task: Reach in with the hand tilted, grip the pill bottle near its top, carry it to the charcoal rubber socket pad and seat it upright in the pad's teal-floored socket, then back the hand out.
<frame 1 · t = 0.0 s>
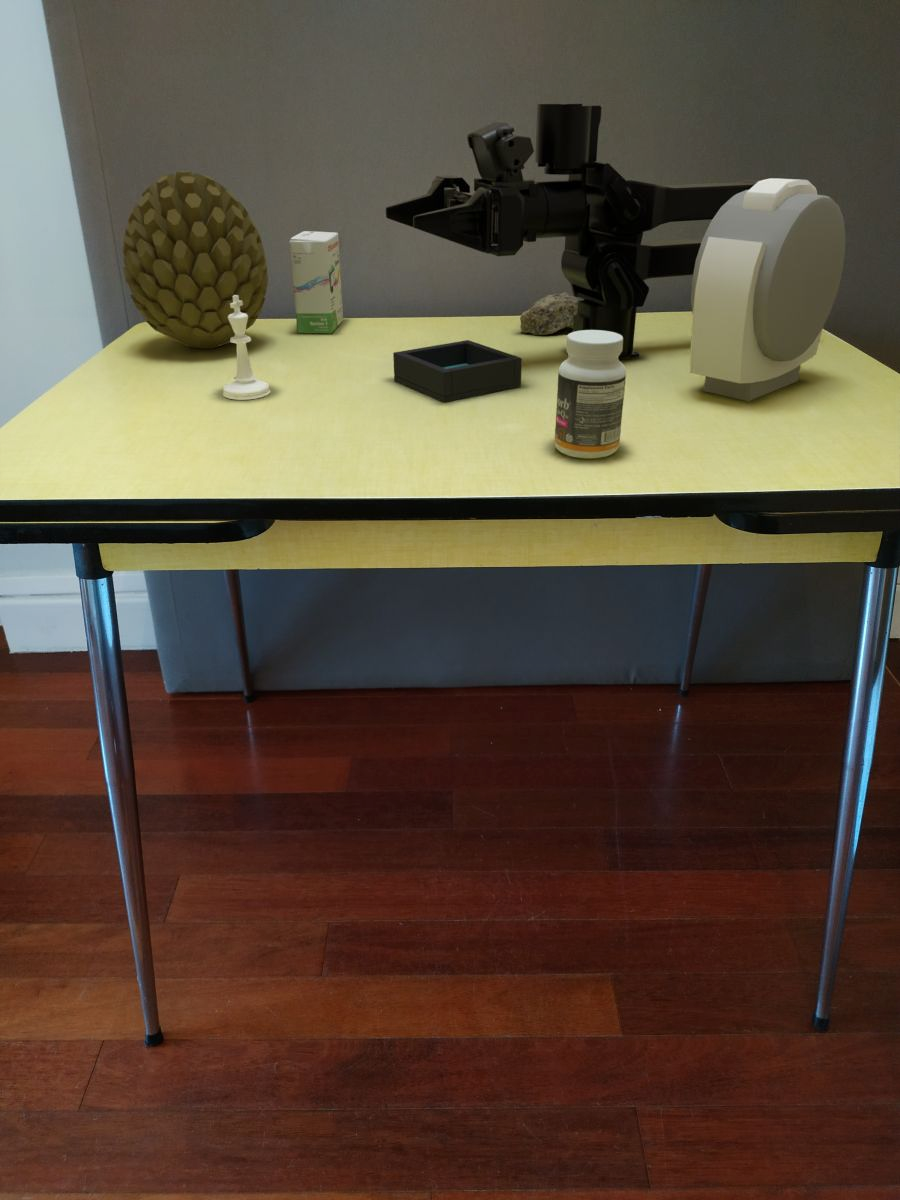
hand: (399, 217, 94), 17 cm above the table, tool horizontal, fingers open, 9 cm apart
alarm clock: (751, 387, 98), on the table
decorative object: (207, 347, 115), on the table
rock: (548, 330, 122), on the table
ink box: (321, 328, 124), on the table
socket pad: (456, 383, 99), on the table
pill bottle: (586, 451, 81), on the table
chess piece: (247, 395, 97), on the table
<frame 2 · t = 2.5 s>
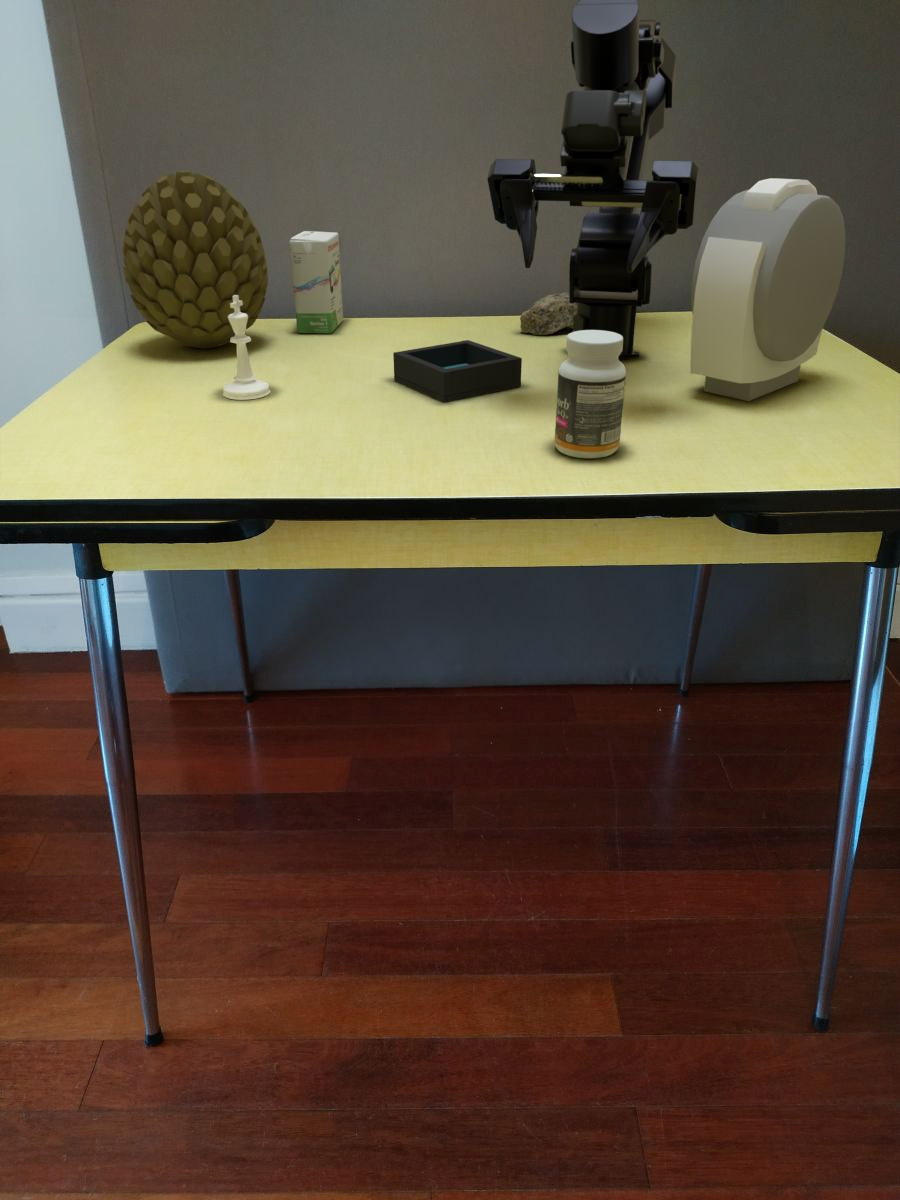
hand: (577, 267, 81), 14 cm above the table, tool tilted 50°, fingers open, 9 cm apart
nothing on the table moved.
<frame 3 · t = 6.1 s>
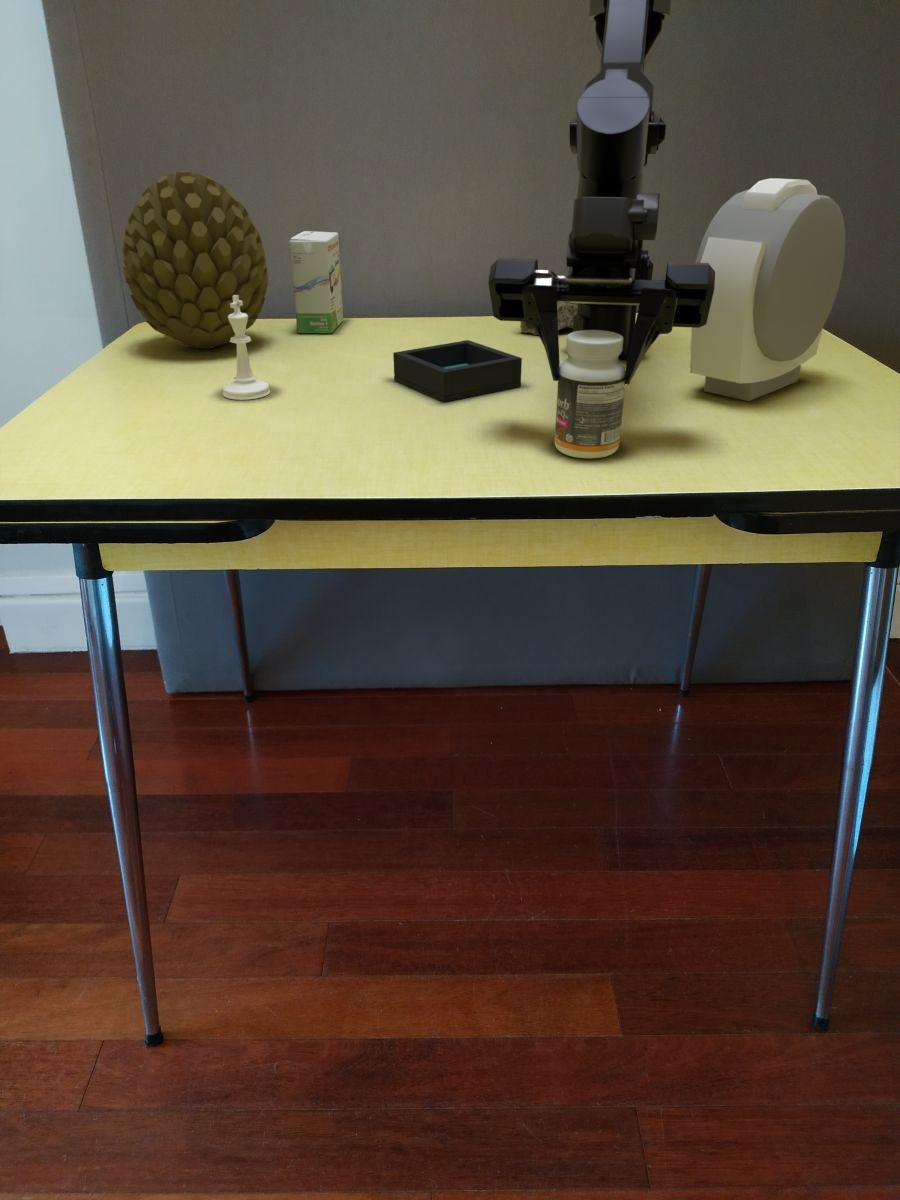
hand: (590, 380, 76), 7 cm above the table, tool tilted 45°, fingers closed on pill bottle, 6 cm apart
pill bottle: (586, 451, 81), on the table, touching gripper
everything else where it was.
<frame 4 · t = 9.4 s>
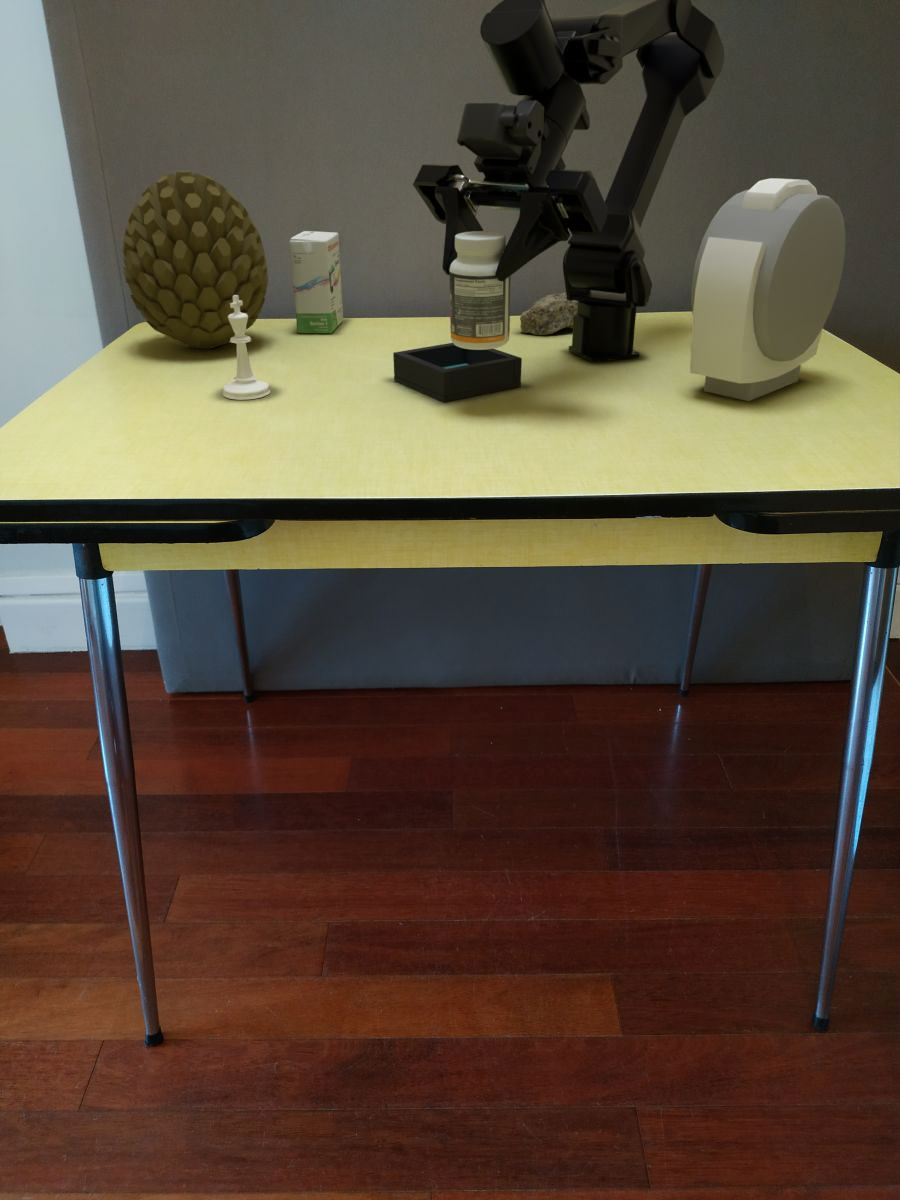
hand: (471, 275, 84), 13 cm above the table, tool tilted 45°, fingers closed on pill bottle, 6 cm apart
pill bottle: (480, 345, 88), point 6 cm above the table, touching gripper
everything else where it was.
when the fingers open (7 cm above the table, at t = 12.7 s): pill bottle stays where it is, resting on socket pad.
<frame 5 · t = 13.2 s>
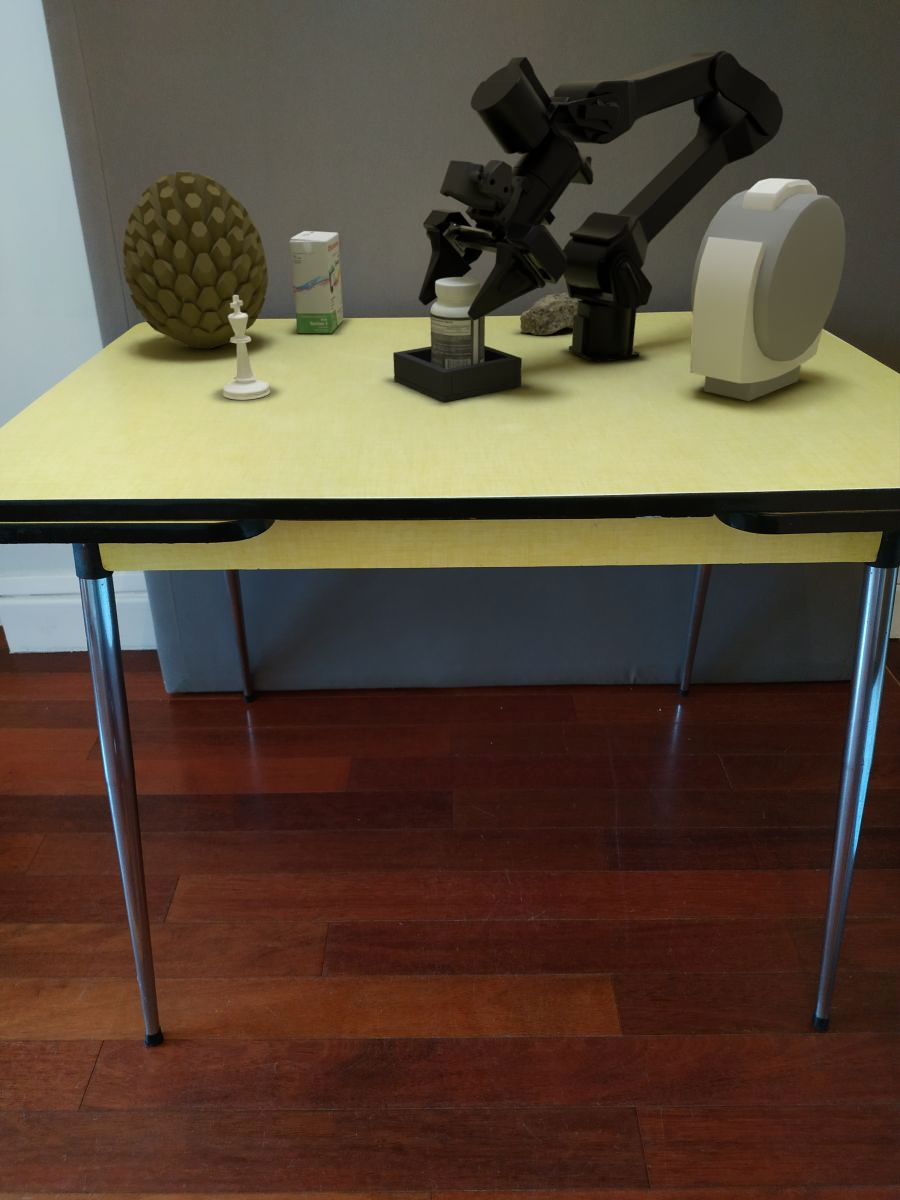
hand: (445, 309, 95), 8 cm above the table, tool tilted 45°, fingers open, 9 cm apart
pill bottle: (457, 377, 99), point 1 cm above the table, touching socket pad
everything else where it was.
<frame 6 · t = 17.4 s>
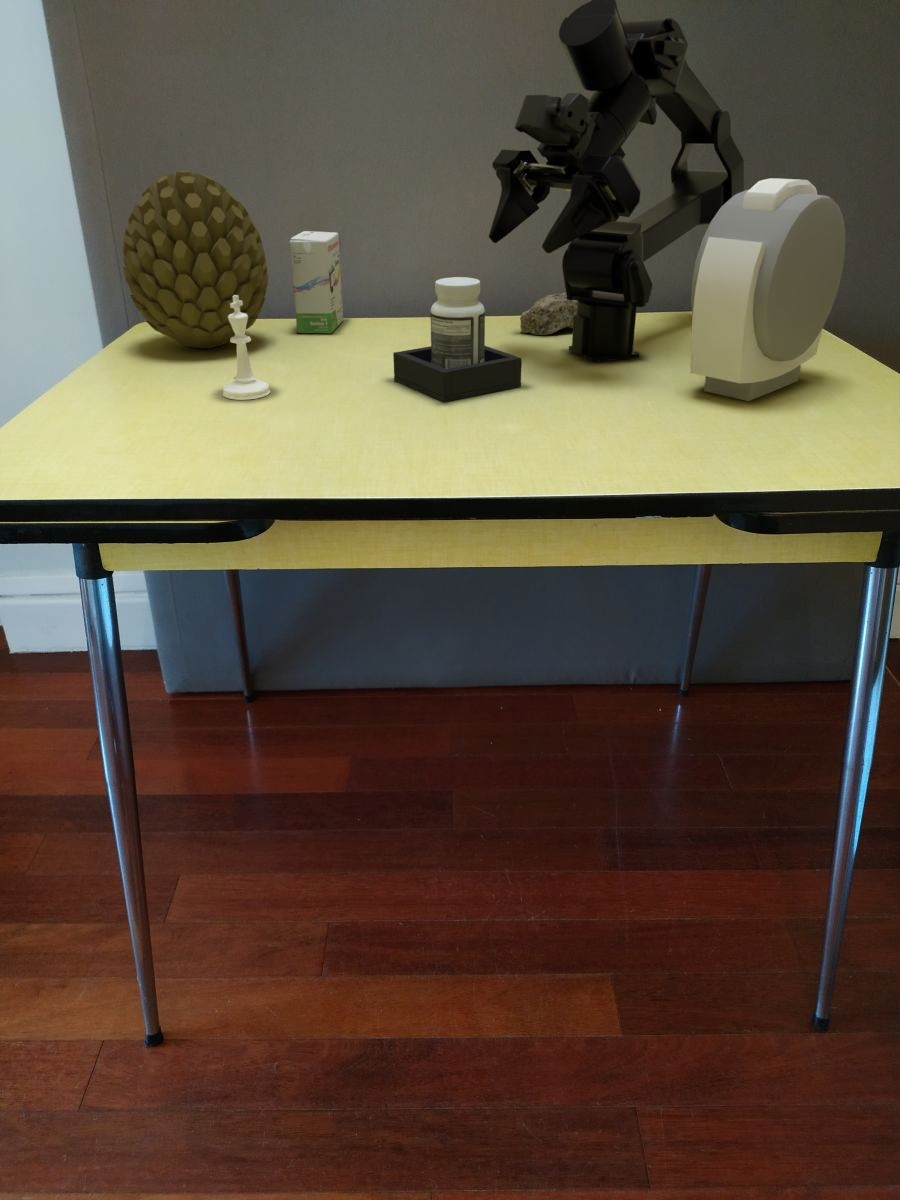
hand: (517, 245, 96), 14 cm above the table, tool tilted 45°, fingers open, 9 cm apart
nothing on the table moved.
at the end: pill bottle 0.1 cm off-centre in the socket pad, point 0.6 cm above the socket pad's base; pill bottle tilted 0°; the gripper is holding nothing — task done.
